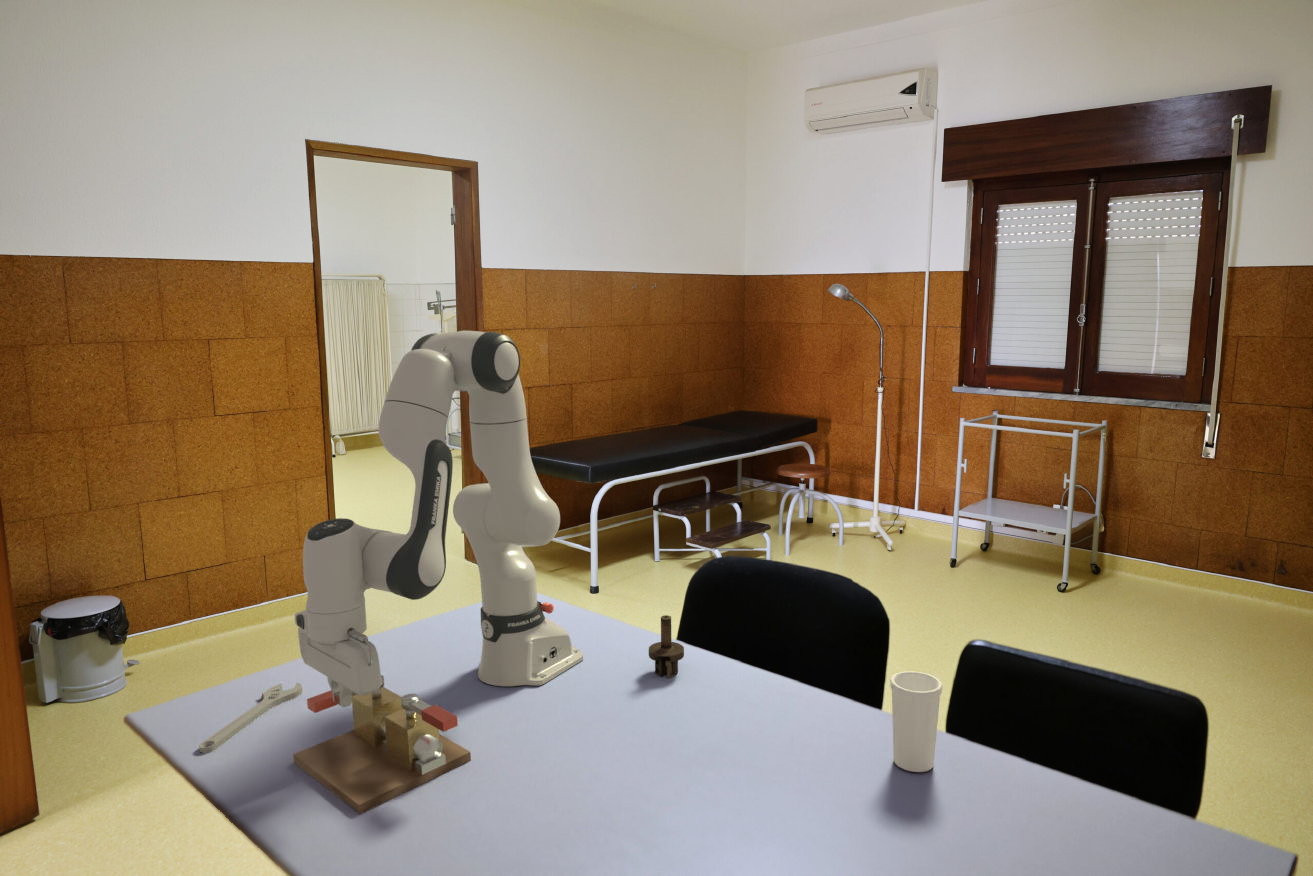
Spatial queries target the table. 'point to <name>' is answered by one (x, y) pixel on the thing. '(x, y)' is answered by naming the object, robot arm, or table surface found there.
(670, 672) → the industrial component
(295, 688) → the adjustable wrench
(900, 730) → the cup
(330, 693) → the valve lever
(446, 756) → the base board
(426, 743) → the pipe manifold
